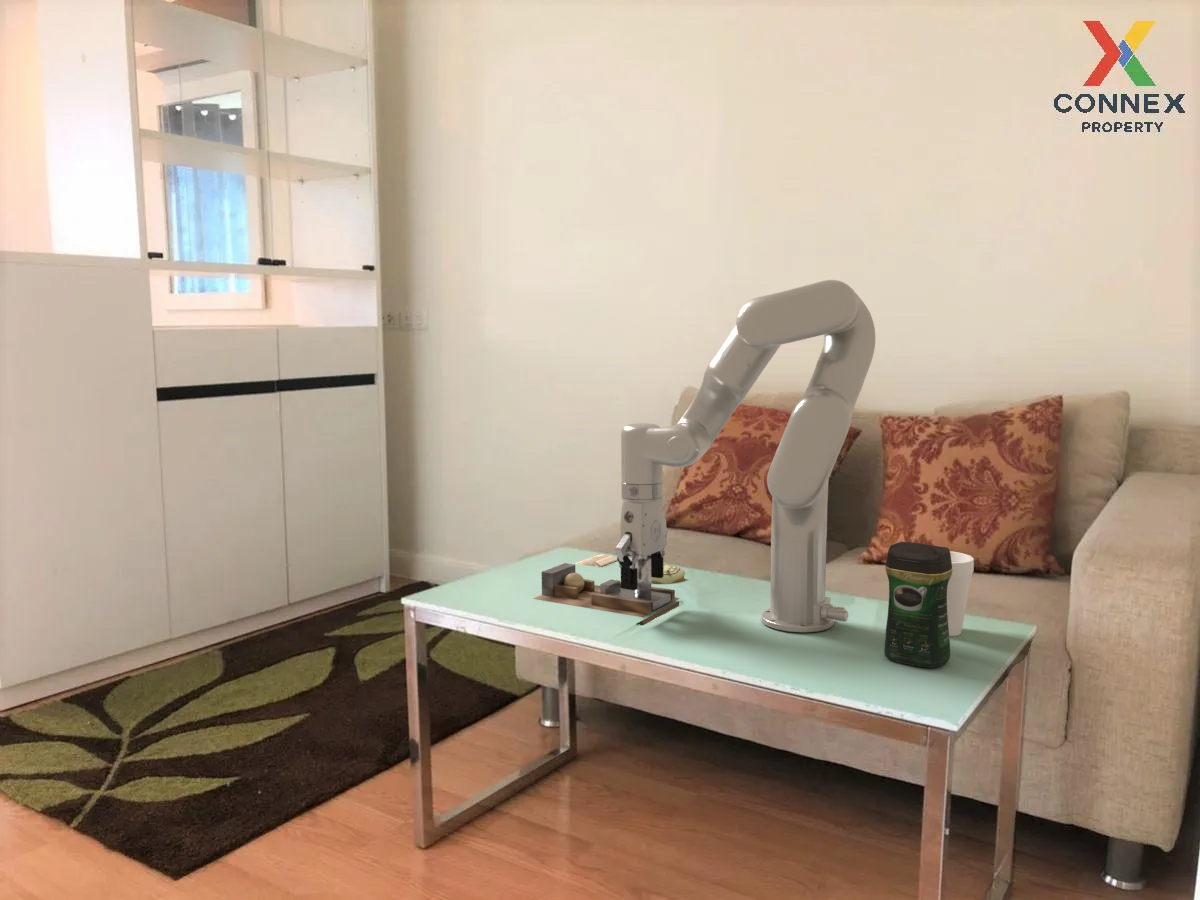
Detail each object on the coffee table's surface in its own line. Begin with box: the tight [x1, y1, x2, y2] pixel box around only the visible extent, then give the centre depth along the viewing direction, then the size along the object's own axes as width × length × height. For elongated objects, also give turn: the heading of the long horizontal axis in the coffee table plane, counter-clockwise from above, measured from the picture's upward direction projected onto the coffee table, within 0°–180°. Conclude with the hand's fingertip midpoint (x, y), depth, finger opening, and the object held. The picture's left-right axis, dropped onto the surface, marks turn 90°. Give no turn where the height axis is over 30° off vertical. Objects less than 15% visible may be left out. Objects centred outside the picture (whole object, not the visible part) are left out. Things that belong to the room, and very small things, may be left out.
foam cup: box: [947, 550, 975, 637], centre depth 167 cm, size 10×9×13 cm
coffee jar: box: [883, 541, 952, 668], centre depth 153 cm, size 10×8×19 cm
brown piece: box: [532, 562, 680, 626], centre depth 185 cm, size 24×14×6 cm, turn 58°
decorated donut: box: [651, 563, 686, 585], centre depth 200 cm, size 10×11×4 cm
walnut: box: [564, 572, 585, 593], centre depth 189 cm, size 4×4×4 cm
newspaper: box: [573, 554, 618, 568], centre depth 213 cm, size 24×7×2 cm, turn 147°
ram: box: [599, 555, 672, 611], centre depth 181 cm, size 12×7×8 cm, turn 58°
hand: (642, 583), depth 180 cm, fingers open, 9 cm apart
